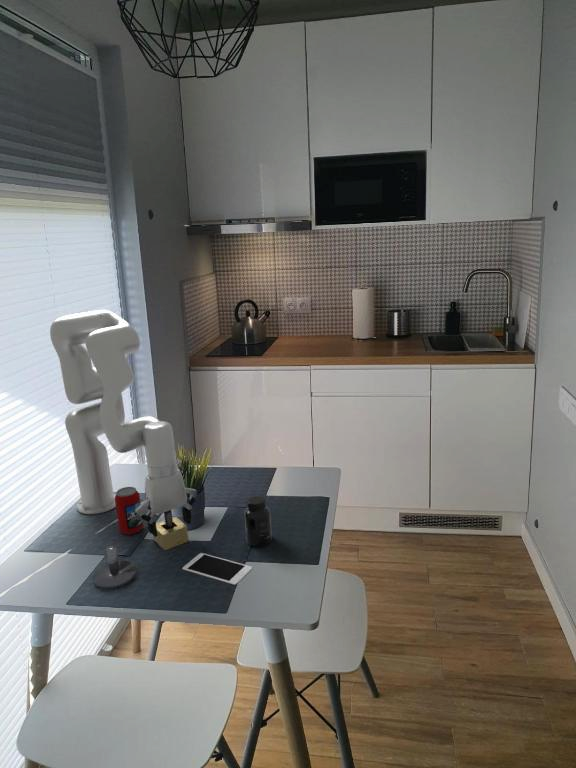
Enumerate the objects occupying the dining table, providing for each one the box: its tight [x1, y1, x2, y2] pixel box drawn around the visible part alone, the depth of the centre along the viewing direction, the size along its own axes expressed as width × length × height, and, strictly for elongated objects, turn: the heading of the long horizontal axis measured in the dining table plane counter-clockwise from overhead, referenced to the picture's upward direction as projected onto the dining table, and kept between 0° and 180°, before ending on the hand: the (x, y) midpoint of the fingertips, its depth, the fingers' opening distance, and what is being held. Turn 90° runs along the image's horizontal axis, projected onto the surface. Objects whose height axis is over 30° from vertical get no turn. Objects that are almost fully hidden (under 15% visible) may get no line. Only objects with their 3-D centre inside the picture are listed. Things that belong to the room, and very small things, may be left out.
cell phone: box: [181, 552, 253, 586], centre depth 146 cm, size 8×16×1 cm, turn 61°
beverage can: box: [115, 486, 144, 535], centre depth 165 cm, size 7×7×12 cm
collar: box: [152, 516, 190, 551], centre depth 159 cm, size 7×7×4 cm
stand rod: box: [163, 510, 173, 530], centre depth 158 cm, size 2×2×10 cm
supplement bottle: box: [243, 495, 273, 548], centre depth 155 cm, size 7×7×12 cm
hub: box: [93, 545, 138, 590], centre depth 143 cm, size 10×10×8 cm
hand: (170, 528), depth 158 cm, fingers open, 9 cm apart
